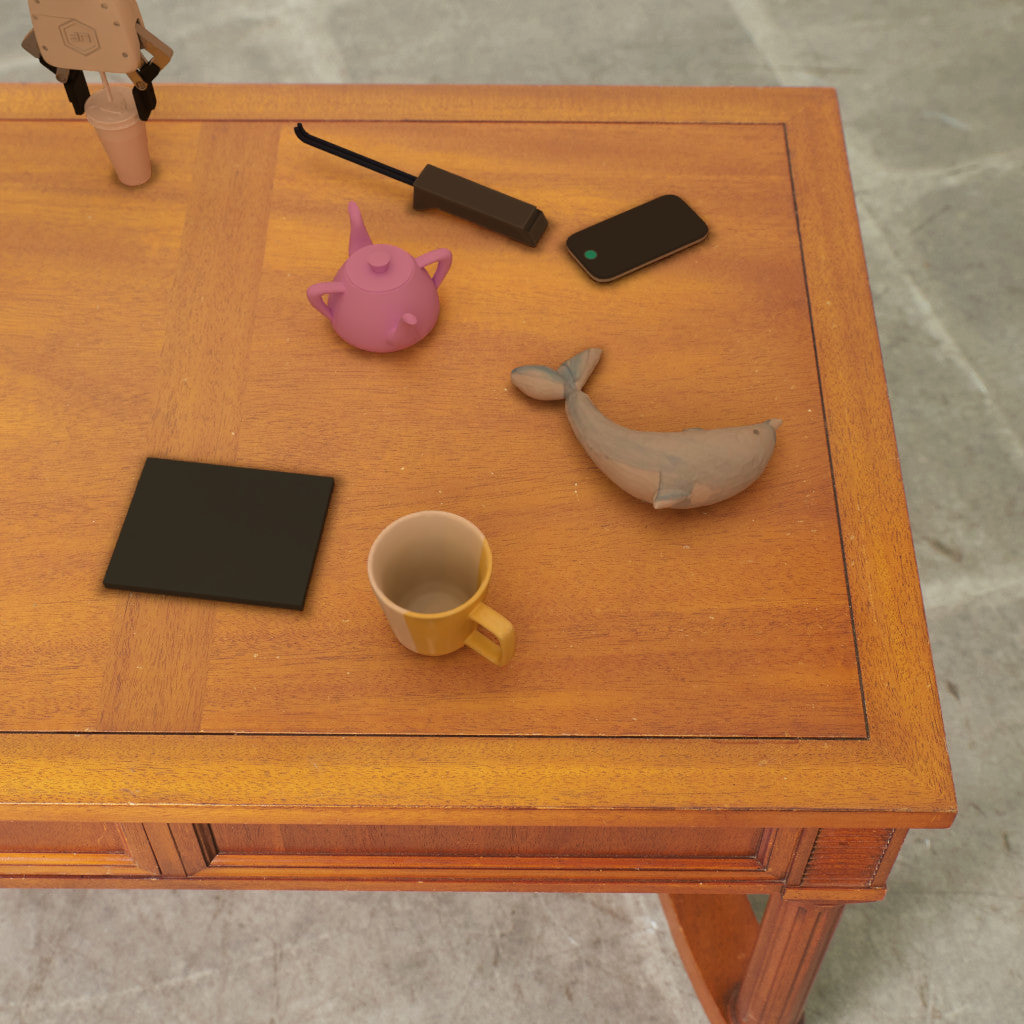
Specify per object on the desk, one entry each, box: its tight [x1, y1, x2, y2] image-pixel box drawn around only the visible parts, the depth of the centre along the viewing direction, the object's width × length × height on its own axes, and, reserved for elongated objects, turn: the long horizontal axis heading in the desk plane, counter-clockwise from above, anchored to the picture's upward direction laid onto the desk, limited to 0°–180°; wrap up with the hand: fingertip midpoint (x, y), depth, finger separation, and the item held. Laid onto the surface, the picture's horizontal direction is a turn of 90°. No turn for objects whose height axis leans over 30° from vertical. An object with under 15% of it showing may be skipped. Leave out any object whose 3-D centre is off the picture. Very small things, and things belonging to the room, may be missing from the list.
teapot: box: [305, 200, 453, 354], centre depth 128 cm, size 12×14×9 cm
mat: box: [102, 456, 336, 612], centre depth 117 cm, size 18×14×1 cm
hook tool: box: [293, 122, 549, 248], centre depth 141 cm, size 4×4×30 cm
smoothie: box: [84, 72, 153, 187], centre depth 138 cm, size 6×6×14 cm
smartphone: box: [565, 194, 710, 283], centre depth 138 cm, size 8×1×15 cm
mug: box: [366, 510, 517, 668], centre depth 107 cm, size 14×10×10 cm
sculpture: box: [509, 347, 784, 510], centre depth 123 cm, size 18×8×25 cm
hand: (115, 108), depth 137 cm, fingers closed on smoothie, 6 cm apart
